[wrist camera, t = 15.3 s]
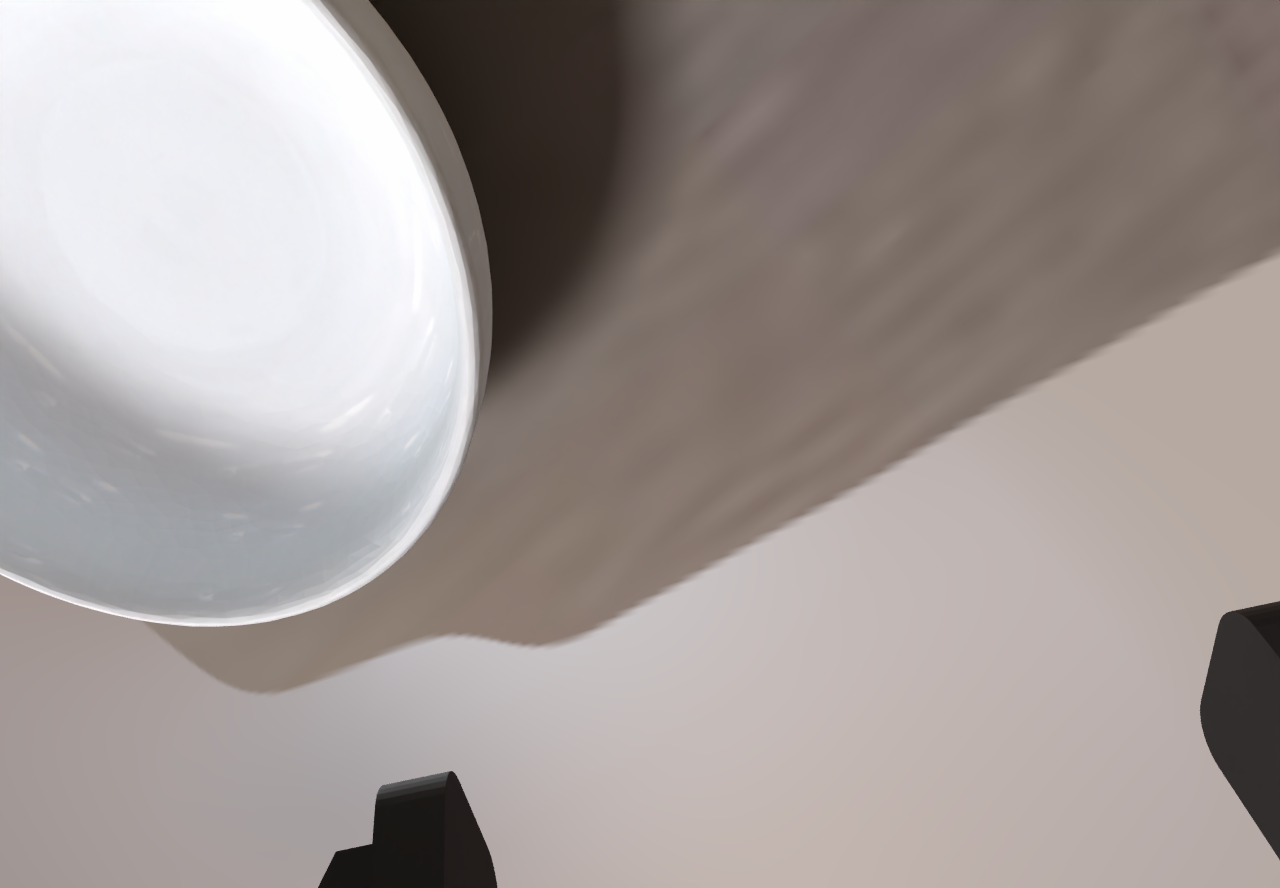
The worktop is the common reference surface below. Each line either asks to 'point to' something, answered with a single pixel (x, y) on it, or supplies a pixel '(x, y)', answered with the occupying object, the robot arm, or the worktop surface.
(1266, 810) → the robot arm
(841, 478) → the worktop surface
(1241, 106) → the worktop surface
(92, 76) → the serving bowl
